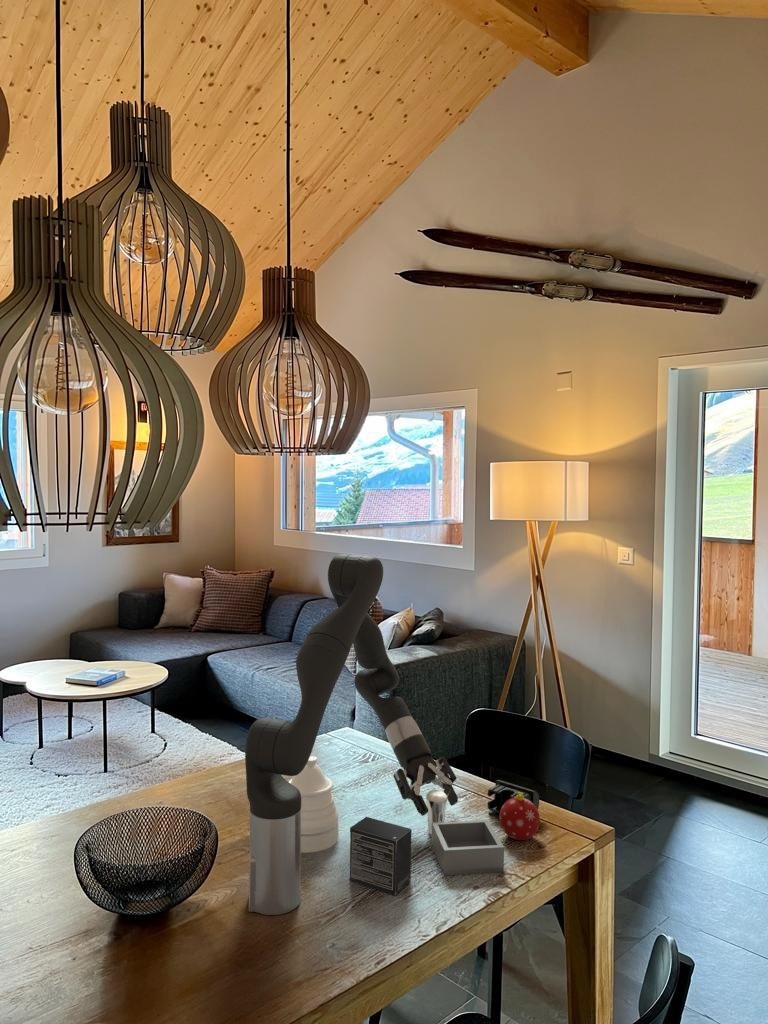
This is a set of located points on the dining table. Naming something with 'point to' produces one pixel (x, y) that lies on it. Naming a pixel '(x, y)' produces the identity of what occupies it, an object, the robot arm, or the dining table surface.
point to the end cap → (508, 796)
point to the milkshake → (436, 807)
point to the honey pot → (316, 808)
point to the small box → (380, 855)
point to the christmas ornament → (519, 818)
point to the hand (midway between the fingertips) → (440, 808)
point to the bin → (467, 847)
